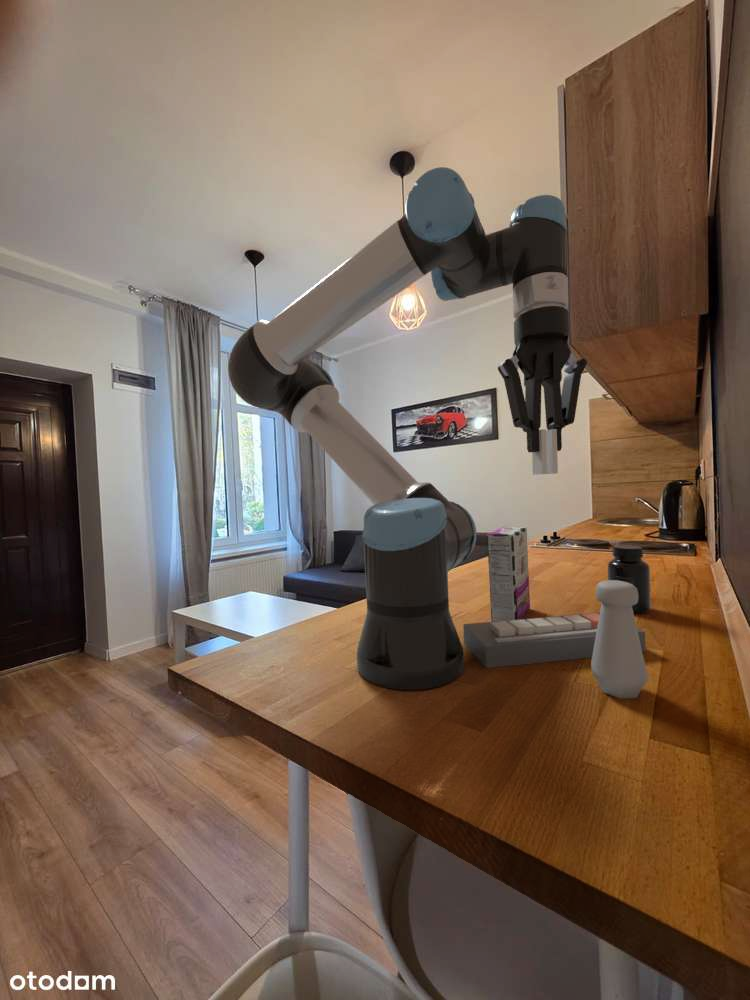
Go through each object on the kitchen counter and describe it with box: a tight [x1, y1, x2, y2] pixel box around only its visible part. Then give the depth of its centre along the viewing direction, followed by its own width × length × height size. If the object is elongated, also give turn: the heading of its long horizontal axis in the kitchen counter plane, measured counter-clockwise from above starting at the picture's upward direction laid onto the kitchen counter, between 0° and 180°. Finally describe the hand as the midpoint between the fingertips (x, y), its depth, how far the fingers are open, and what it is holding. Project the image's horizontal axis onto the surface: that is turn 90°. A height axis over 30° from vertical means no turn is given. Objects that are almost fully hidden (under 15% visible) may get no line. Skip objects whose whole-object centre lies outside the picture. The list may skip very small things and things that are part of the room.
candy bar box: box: [486, 526, 531, 622], centre depth 74 cm, size 11×5×16 cm, turn 147°
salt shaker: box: [590, 579, 649, 700], centre depth 47 cm, size 6×6×13 cm
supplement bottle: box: [607, 545, 652, 615], centre depth 75 cm, size 7×7×12 cm
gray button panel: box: [462, 611, 646, 669], centre depth 60 cm, size 24×9×4 cm, turn 97°
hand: (545, 473), depth 59 cm, fingers closed
